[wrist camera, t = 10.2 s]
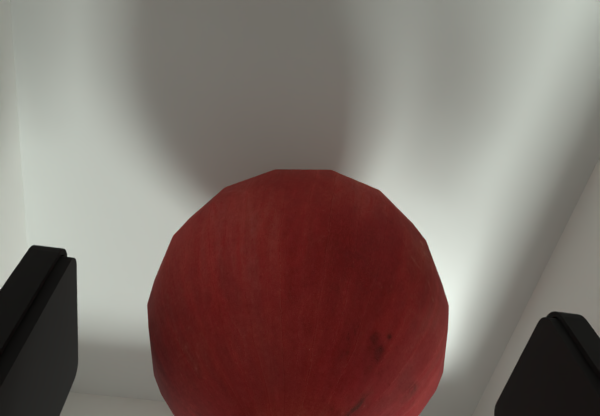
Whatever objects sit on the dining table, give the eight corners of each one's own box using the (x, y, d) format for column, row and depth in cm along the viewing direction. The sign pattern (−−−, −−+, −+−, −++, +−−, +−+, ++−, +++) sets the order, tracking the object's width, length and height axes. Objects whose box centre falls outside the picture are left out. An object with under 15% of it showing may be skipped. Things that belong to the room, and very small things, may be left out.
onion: (438, 282, 15) (555, 597, 8) (245, 341, 16) (194, 668, 9) (371, 84, 13) (451, 277, 6) (150, 169, 14) (-24, 423, 7)
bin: (-42, -192, 10) (-179, -228, 7) (717, -28, 12) (867, -1, 9) (15, 396, 18) (-39, 501, 15) (476, 440, 20) (512, 541, 16)
